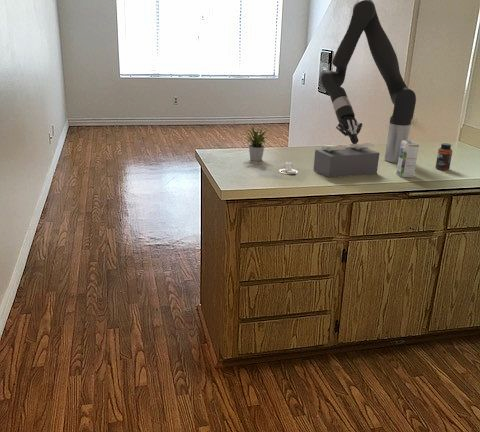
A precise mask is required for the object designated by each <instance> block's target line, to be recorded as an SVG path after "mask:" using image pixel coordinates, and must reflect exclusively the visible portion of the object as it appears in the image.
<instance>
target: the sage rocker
mask: <svg viewBox="0 0 480 432" xmlns="http://www.w3.org/2000/svg"><path fill="white" fill-rule="evenodd" d="M321 149H327V151H339V150H340V149H346V145H341V144H340V145H335V144H330V145H328V144H327V145H321Z"/></svg>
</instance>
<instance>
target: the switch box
mask: <svg viewBox="0 0 480 432" xmlns="http://www.w3.org/2000/svg"><path fill="white" fill-rule="evenodd" d="M379 158H380V152H378V151H376V150H373V149H370V148H369V147H368V148H367V149H356V148H350V146H347V147H346V149H340V150H339V151H327V149H322V148H318V149H316V148H315V151H314V160H313V171H315V172H316V173H318V174H320V175H322V176H324V177H325V178H328V179H331V178H334V179H335V178H342V177H343V178H344V177H354V176H361V175H362V176H363V175H375V174H377V173H378V169H379V168H378V167H379V160H380V159H379Z"/></svg>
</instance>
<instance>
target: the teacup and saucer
mask: <svg viewBox="0 0 480 432" xmlns="http://www.w3.org/2000/svg"><path fill="white" fill-rule="evenodd" d="M281 171H282V172H281ZM284 171H285V172H284ZM278 172H279V173H282V174H286V175H295V174H298V172H299V171H298V170H296V169H293V162H291V161H285V162H284V168H281V169H279V170H278Z"/></svg>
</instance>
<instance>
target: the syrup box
mask: <svg viewBox="0 0 480 432" xmlns="http://www.w3.org/2000/svg"><path fill="white" fill-rule="evenodd" d="M419 147H420V143H418V142H416V141H415V140H409V139H408V140H404V141H402V142H401V148H400V154H399V160H398V163H397V166H396V167H397V168H396V175H398V176H399V177H400V178H414V176H415V171H416V167H417V166H416V165H417V160H418V153H419Z"/></svg>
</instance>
